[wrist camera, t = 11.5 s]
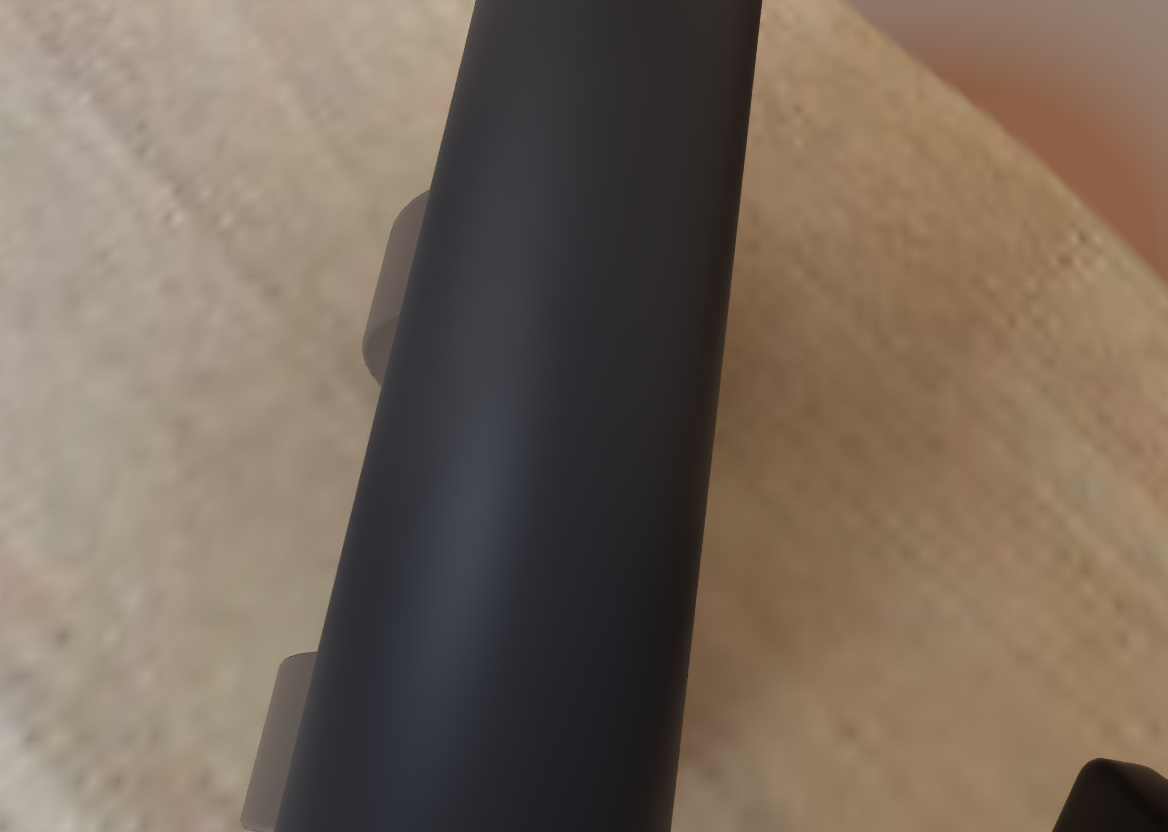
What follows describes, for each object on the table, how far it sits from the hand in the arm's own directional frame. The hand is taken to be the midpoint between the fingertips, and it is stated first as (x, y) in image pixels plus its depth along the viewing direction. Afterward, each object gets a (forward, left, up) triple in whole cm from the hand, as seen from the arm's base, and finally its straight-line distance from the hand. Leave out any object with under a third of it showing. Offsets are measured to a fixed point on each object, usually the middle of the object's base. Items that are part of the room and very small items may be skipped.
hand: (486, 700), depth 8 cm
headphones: (+1, +2, -6) cm, 6 cm away
